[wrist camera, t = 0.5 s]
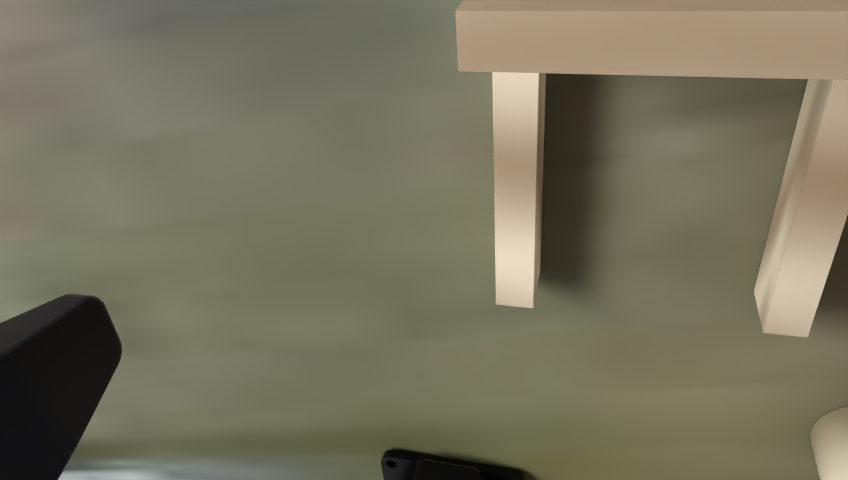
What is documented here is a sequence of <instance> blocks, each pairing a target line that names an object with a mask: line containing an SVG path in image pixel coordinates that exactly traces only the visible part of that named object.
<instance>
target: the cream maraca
mask: <svg viewBox="0 0 848 480" xmlns="http://www.w3.org/2000/svg"><path fill="white" fill-rule="evenodd" d="M810 441H811V445H812V449H813V453H814V457H815V461H816V465H817V469H818V473H819V477H820V480H848V407H843V408H839V409H836V410H834V411H831V412H829V413H827V414H826V415H824V416H822V417H821V418H820V419H819V420H818V421H817V422H816V423H815V424H814V425H813V427H812V429H811V432H810Z"/></svg>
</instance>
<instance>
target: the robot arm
mask: <svg viewBox="0 0 848 480" xmlns="http://www.w3.org/2000/svg"><path fill="white" fill-rule="evenodd" d="M121 355H122V346H121V341H120V339H119V337H118V334H117V332H116V330H115V327H114V325H113V323H112V320H111V318H110V316H109V313H108V311H107V309H106V306H105V305H104V303H103V302H102V301H101V300H100V299H99V298H98V297H95V296H90V295H80V294H67V295H63V296H61V297H58V298H56V299H54V300H52V301H49V302H47V303H45V304H43V305H40V306H38V307H36V308H34V309H31V310H29V311H27V312H25V313H22V314H20V315H18V316H15V317H13V318H11V319H9V320H6V321H4V322H2V323H0V480H58V479H59V477H60V475H61V474H62V472H63V470H64V469H65V467H66V465H67V464H68V462H69V460H70V458H71V456H72V454H73V452H74V450H75V449H76V447H77V445H78V443H79V441H80V439H81V437H82V435H83V433H84V431H85V429H86V427H87V425H88V423H89V421H90V419H91V417H92V415H93V413H94V411H95V409H96V407H97V405H98V403H99V401H100V400H101V398H102V396H103V394H104V392H105V390H106V388H107V386H108V384H109V382H110V380H111V378H112V376H113V374H114V372H115V370H116V368H117V366H118V364H119V362H120V359H121ZM381 465H382V471H383V477H384V480H525V476H524V475H523V474H522V473H520V472H519V471H516V470H511V469H505V468H499V467H493V466H487V465H481V464H475V463H469V462H463V461H457V460H451V459H444V458H438V457H432V456H426V455H420V454H414V453H408V452H402V451H396V450H387V451H385V452H384V454H383V457H382V460H381Z"/></svg>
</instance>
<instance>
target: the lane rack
mask: <svg viewBox="0 0 848 480" xmlns="http://www.w3.org/2000/svg"><path fill="white" fill-rule="evenodd" d="M455 14H456V36H457V58H458V71H469V72H492V73H493V136H494V199H495V263H496V304H498V305H507V306H517V307H526V308H533V306H534V301H535V296H536V291H537V285H538V280H539V275H540V260H541V227H542V194H543V160H544V127H545V94H546V73H558V74H602V75H647V76H691V77H736V78H780V79H808V81H807V85H806V89H805V93H804V97H803V101H802V105H801V109H800V113H799V117H798V120H797V124H796V128H795V132H794V136H793V140H792V144H791V148H790V152H789V156H788V160H787V163H786V167H785V171H784V175H783V179H782V183H781V187H780V191H779V195H778V199H777V203H776V207H775V210H774V214H773V218H772V222H771V226H770V230H769V234H768V238H767V242H766V246H765V250H764V254H763V257H762V261H761V265H760V269H759V273H758V277H757V281H756V285H755V289H754V294H755V298H756V303H757V308H758V312H759V317H760V321H761V326H762V330H763V333H771V334H780V335H789V336H799V337H808V334H809V331H810V328H811V325H812V322H813V319H814V316H815V313H816V310H817V307H818V304H819V301H820V298H821V295H822V292H823V289H824V286H825V283H826V279H827V276H828V273H829V270H830V267H831V264H832V261H833V258H834V255H835V252H836V249H837V246H838V243H839V240H840V237H841V234H842V231H843V228H844V225H845V221H846V218H847V215H848V0H463V1H462V3H461V4H460V5H459V7H458V8H457V10H456V11H455Z"/></svg>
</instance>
